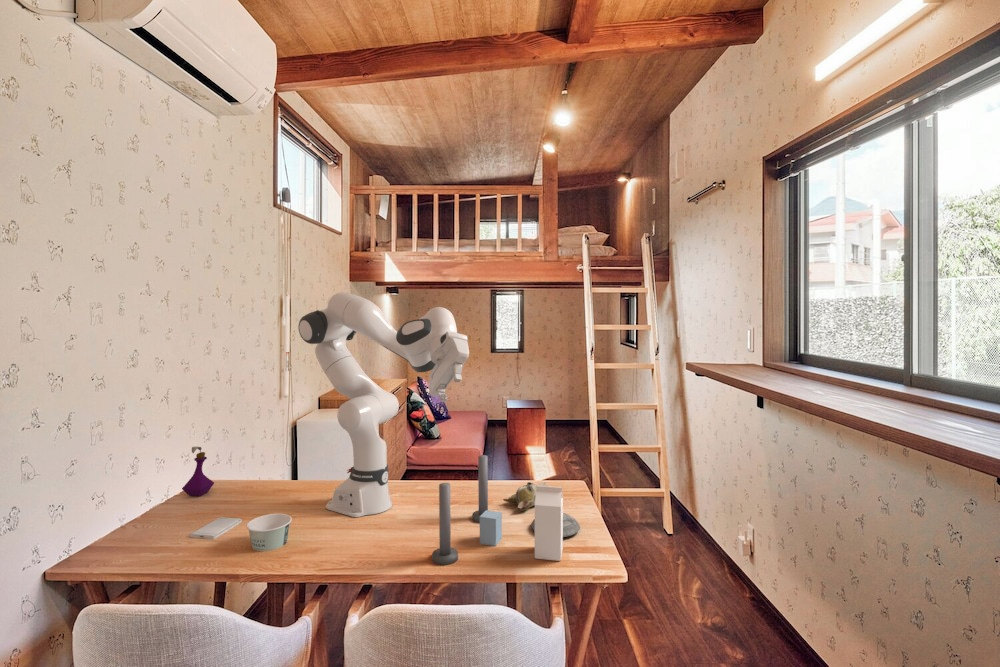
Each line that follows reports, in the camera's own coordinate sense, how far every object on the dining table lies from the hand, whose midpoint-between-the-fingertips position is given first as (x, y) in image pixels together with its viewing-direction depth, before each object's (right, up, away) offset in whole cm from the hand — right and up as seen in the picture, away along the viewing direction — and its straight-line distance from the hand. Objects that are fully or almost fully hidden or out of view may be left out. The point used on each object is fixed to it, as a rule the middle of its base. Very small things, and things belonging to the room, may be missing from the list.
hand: (450, 390), depth 138 cm
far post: (+8, -44, +26) cm, 52 cm away
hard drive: (-74, -46, +18) cm, 89 cm away
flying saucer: (+31, -45, +17) cm, 57 cm away
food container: (-53, -46, +8) cm, 71 cm away
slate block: (+11, -45, +10) cm, 47 cm away
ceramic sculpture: (+23, -44, +36) cm, 62 cm away
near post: (-1, -46, -1) cm, 46 cm away
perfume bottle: (-98, -44, +48) cm, 117 cm away
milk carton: (+27, -46, +2) cm, 53 cm away
